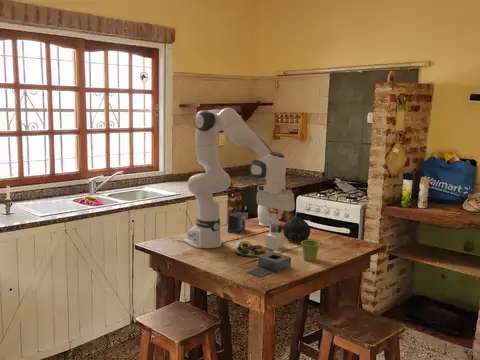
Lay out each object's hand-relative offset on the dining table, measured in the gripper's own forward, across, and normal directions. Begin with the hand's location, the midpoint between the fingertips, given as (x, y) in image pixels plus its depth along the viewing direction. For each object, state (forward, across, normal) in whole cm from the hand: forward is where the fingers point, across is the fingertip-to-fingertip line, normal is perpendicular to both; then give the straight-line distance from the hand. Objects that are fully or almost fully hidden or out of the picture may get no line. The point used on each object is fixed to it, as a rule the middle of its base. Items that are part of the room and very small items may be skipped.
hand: (274, 217), depth 221 cm
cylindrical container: (+7, 0, 0) cm, 7 cm away
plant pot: (+24, -5, -22) cm, 33 cm away
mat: (+24, 0, +10) cm, 26 cm away
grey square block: (+24, 0, -1) cm, 24 cm away
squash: (+24, +20, -43) cm, 53 cm away
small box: (+23, +54, -31) cm, 67 cm away
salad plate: (+24, +22, -9) cm, 34 cm away
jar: (+23, +53, -55) cm, 79 cm away
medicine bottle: (+24, +19, -24) cm, 39 cm away
